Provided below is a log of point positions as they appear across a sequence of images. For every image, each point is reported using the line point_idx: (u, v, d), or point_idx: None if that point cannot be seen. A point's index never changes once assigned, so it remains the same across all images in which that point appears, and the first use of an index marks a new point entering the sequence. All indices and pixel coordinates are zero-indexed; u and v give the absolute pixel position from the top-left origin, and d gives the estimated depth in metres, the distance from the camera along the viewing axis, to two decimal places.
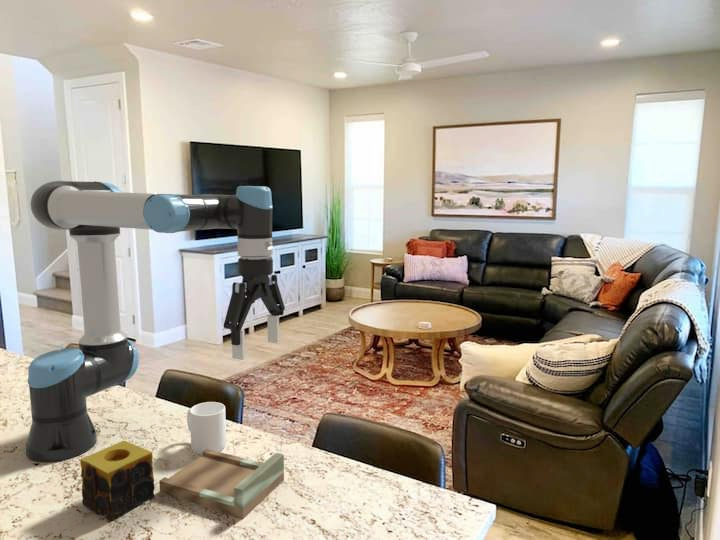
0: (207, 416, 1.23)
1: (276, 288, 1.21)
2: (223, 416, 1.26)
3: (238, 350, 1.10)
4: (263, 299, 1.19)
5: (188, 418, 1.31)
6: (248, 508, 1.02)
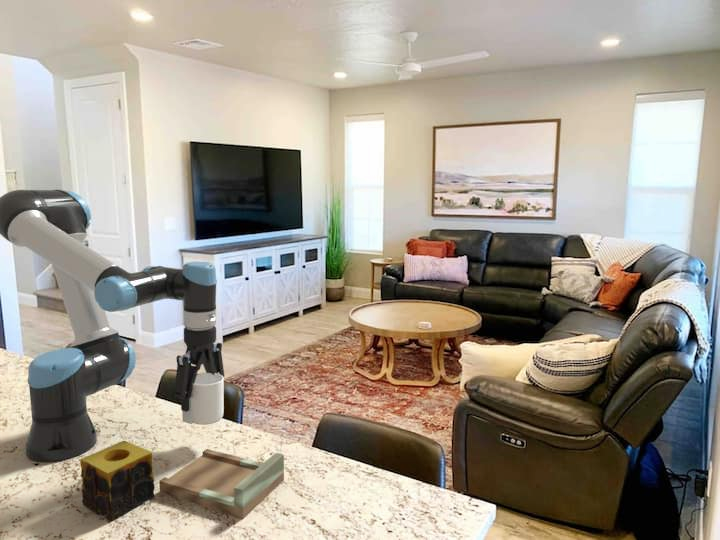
0: (205, 386, 1.23)
1: (219, 355, 1.31)
2: (221, 386, 1.26)
3: (187, 415, 1.24)
4: (205, 365, 1.29)
5: None
6: (248, 508, 1.02)
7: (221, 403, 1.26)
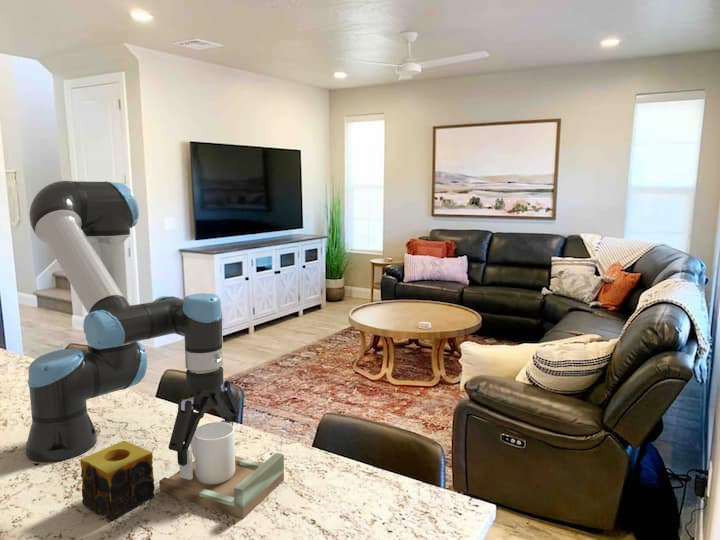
0: (214, 440, 1.07)
1: (229, 394, 1.16)
2: (232, 439, 1.10)
3: (185, 469, 1.06)
4: (215, 407, 1.14)
5: (191, 441, 1.15)
6: (248, 508, 1.02)
7: (232, 458, 1.11)
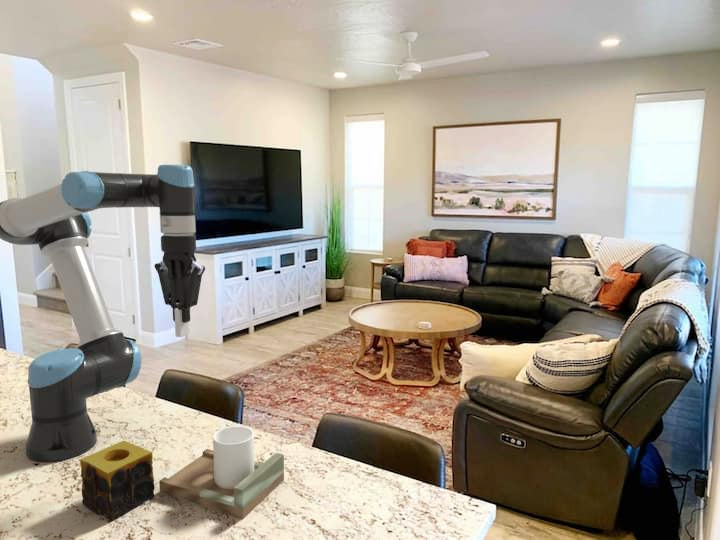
0: (228, 445, 1.05)
1: (191, 278, 1.16)
2: (249, 446, 1.07)
3: None
4: None
5: None
6: (248, 508, 1.02)
7: (249, 465, 1.08)
